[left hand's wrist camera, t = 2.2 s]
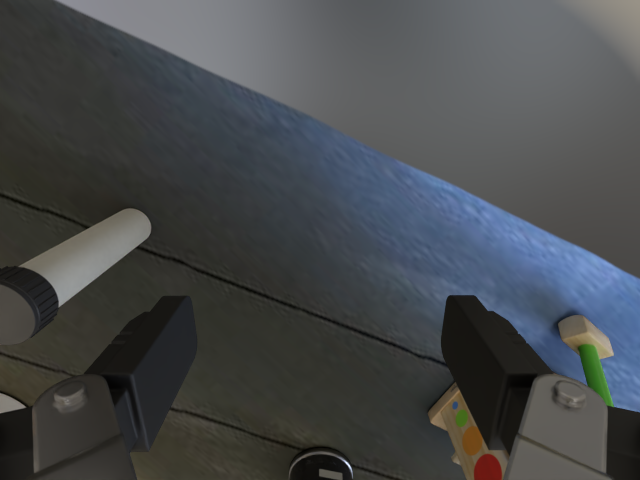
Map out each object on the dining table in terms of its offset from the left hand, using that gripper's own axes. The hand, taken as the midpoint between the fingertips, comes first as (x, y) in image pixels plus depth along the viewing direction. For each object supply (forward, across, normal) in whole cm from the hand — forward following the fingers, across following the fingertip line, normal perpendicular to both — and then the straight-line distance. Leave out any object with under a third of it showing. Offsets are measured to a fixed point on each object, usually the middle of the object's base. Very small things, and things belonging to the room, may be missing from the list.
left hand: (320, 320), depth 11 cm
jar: (+29, -21, -6) cm, 37 cm away
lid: (+11, -21, -6) cm, 25 cm away
